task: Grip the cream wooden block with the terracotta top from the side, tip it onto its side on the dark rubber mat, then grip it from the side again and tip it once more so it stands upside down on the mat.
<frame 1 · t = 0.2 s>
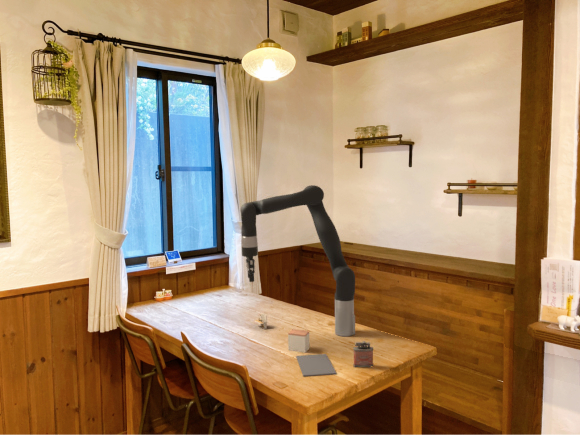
hand: (250, 279, 208), 29 cm above the table, tool pointing down, fingers open, 8 cm apart
architectural model: (262, 328, 228), on the table
mat: (315, 365, 181), on the table
block: (299, 349, 198), on the table
lighter: (363, 366, 179), on the table
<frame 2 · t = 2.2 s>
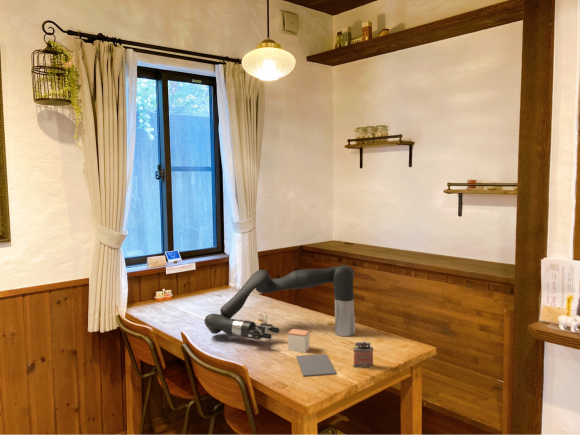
hand: (275, 333, 201), 6 cm above the table, tool horizontal, fingers open, 8 cm apart
nothing on the table moved.
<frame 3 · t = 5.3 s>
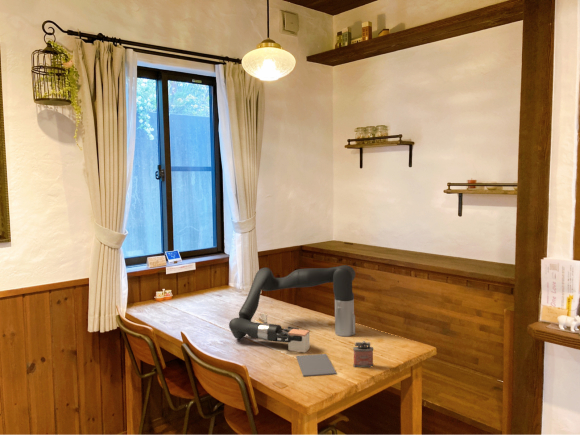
hand: (304, 336, 196), 6 cm above the table, tool horizontal, fingers closed on block, 5 cm apart
block: (299, 349, 198), on the table, touching gripper
everything else where it was.
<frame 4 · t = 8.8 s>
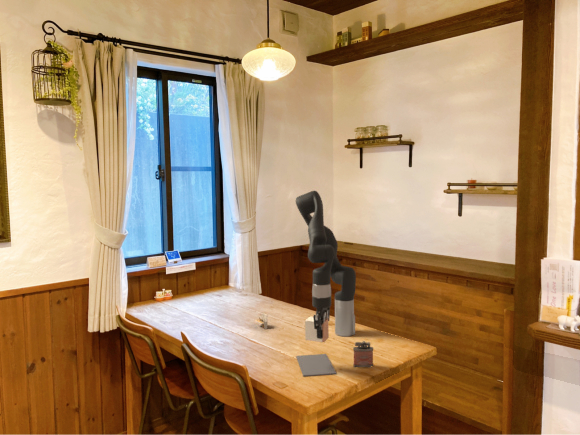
hand: (322, 335, 178), 13 cm above the table, tool pointing down, fingers closed on block, 5 cm apart
block: (307, 328, 180), point 15 cm above the table, tilted 90°, touching gripper
everything else where it was.
when the fingers open (3 cm above the table, at t = 10.9 s): block drops 1 cm, resting on mat.
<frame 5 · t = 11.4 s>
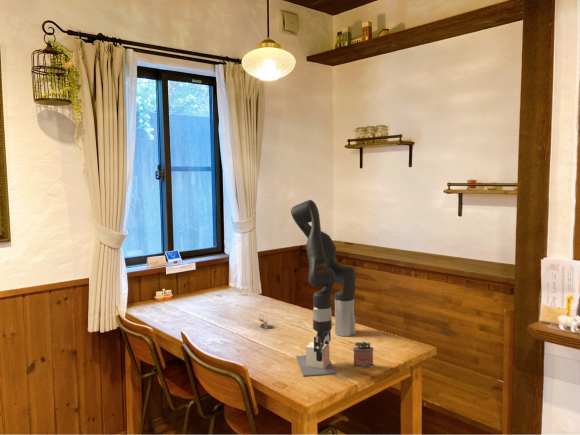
hand: (322, 356, 179), 4 cm above the table, tool pointing down, fingers open, 8 cm apart
block: (308, 353, 181), point 4 cm above the table, tilted 90°, touching mat
everything else where it was.
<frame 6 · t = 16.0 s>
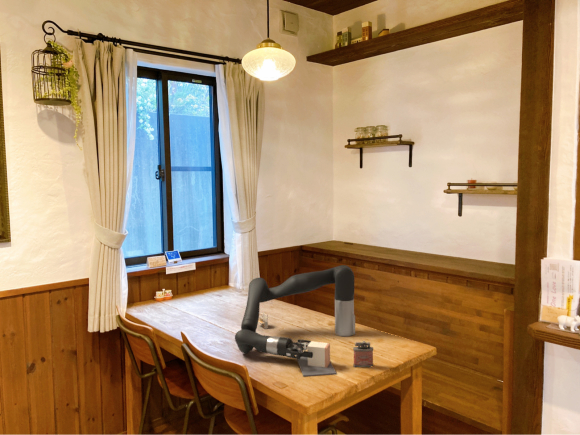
hand: (316, 351, 180), 6 cm above the table, tool horizontal, fingers open, 8 cm apart
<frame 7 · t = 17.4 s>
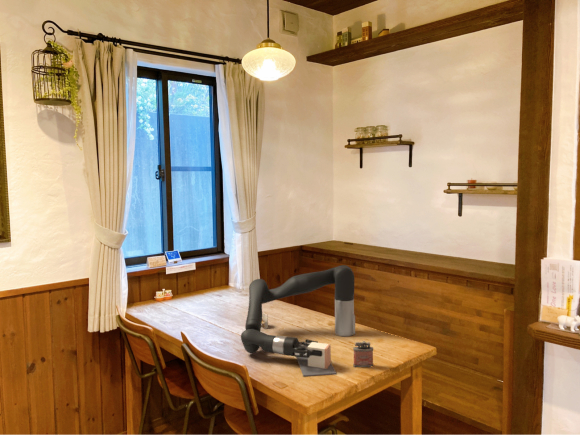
hand: (324, 350, 178), 7 cm above the table, tool horizontal, fingers closed on block, 5 cm apart
block: (309, 353, 181), point 5 cm above the table, tilted 90°, touching gripper, mat
everything else where it was.
when the fingers open (3 cm above the table, at t = 22.8 s): block stays where it is, resting on mat.
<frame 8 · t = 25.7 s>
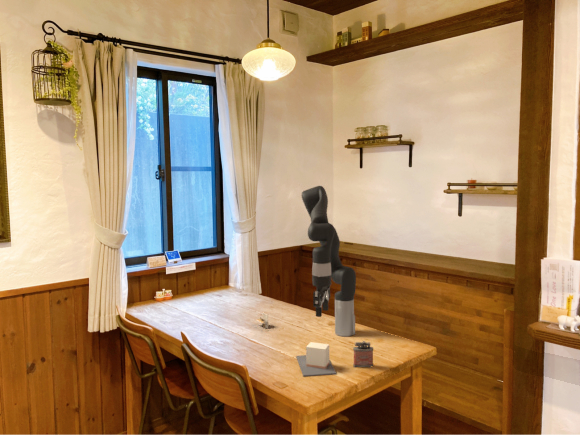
hand: (322, 313, 177), 22 cm above the table, tool pointing down, fingers open, 8 cm apart
block: (317, 345, 179), point 8 cm above the table, tilted 180°, touching mat
at the end: block tilted 180°; block inside the target area on the mat (1.3 cm from its centre), point 8.5 cm above the mat's base; the gripper is holding nothing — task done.
